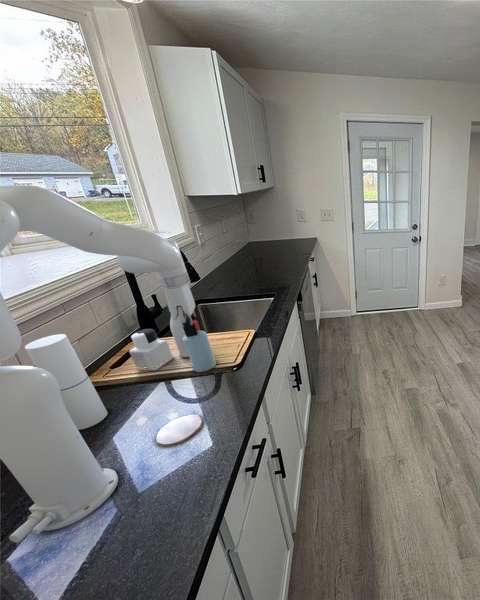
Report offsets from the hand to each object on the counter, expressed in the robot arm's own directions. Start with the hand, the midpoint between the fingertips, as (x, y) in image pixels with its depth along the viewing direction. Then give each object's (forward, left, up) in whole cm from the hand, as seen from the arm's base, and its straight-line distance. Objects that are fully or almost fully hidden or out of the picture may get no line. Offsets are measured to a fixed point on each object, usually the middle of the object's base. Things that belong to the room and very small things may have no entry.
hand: (193, 332), depth 103 cm
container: (+3, +20, -14) cm, 24 cm away
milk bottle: (+10, +11, -14) cm, 20 cm away
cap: (0, 0, +1) cm, 1 cm away
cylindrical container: (-24, +18, -14) cm, 33 cm away
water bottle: (0, 0, -13) cm, 13 cm away
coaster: (-29, -11, -13) cm, 34 cm away
